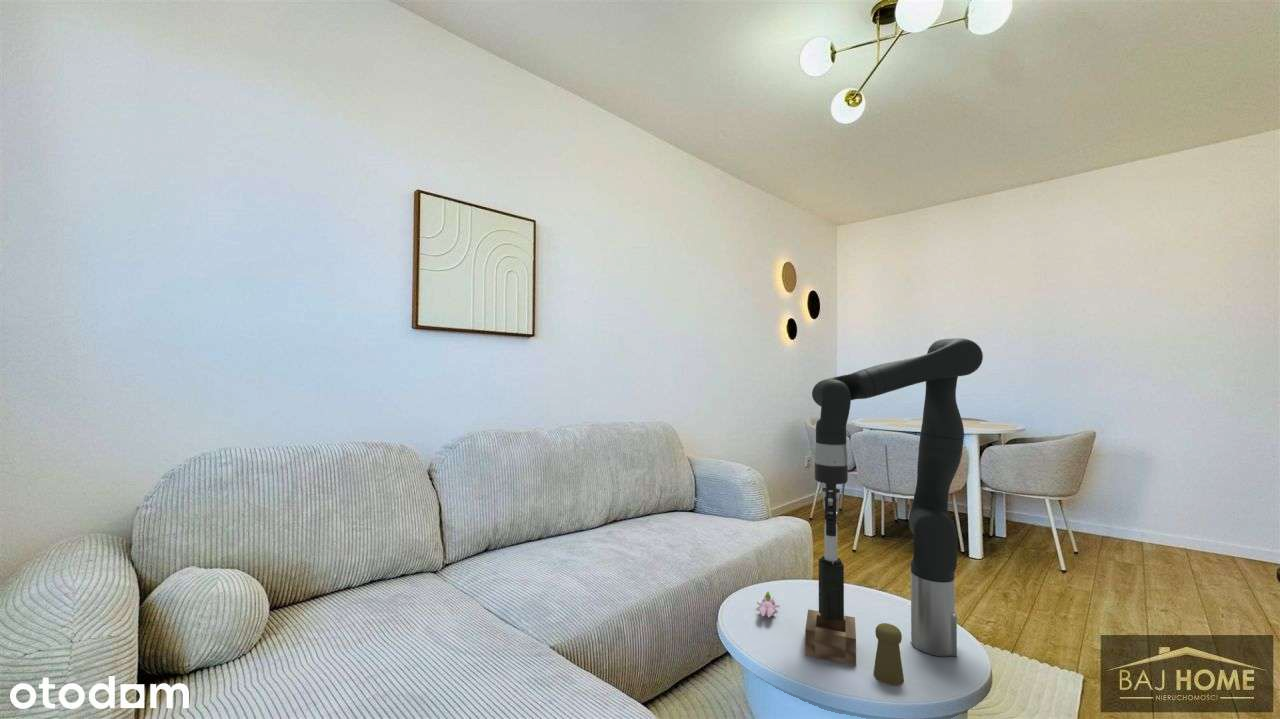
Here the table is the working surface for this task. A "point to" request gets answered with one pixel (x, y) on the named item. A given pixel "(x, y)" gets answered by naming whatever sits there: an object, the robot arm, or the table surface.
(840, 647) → the box
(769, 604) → the pink rainbow-tailed figurine
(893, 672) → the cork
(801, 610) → the table surface
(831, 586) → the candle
